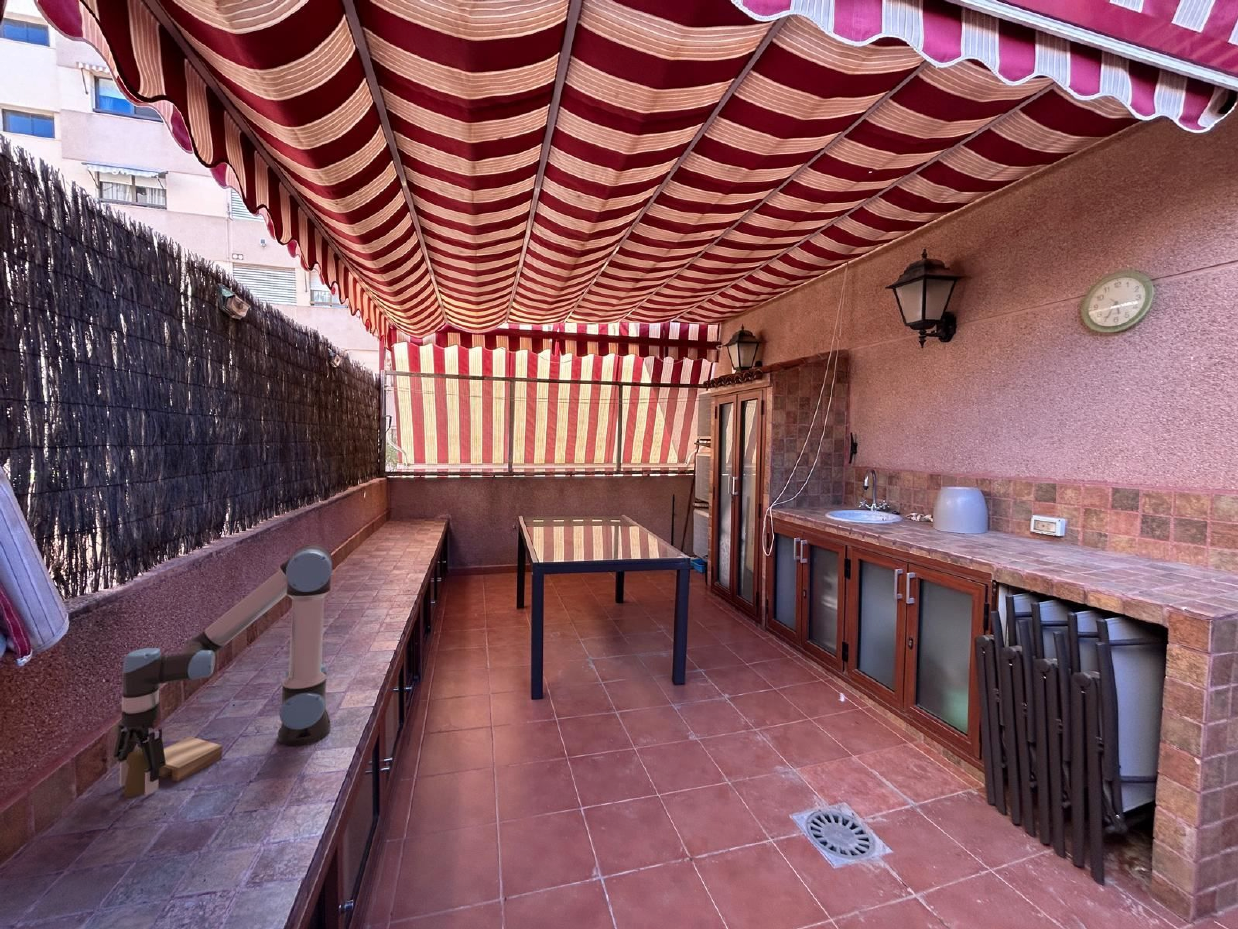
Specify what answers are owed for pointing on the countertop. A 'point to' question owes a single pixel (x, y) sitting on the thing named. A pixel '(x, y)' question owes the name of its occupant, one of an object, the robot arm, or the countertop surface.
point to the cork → (135, 774)
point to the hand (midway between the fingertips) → (138, 787)
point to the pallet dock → (189, 757)
